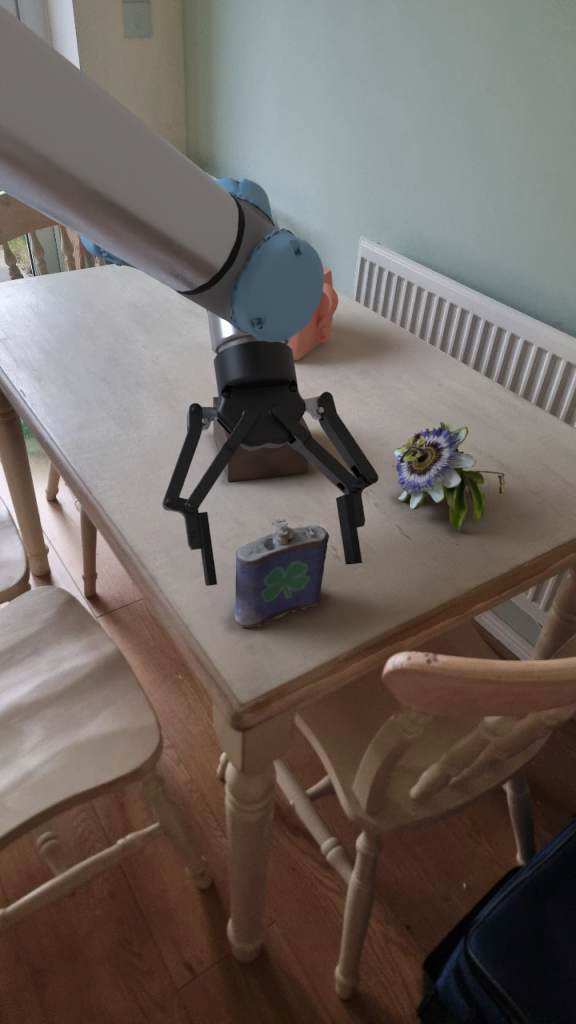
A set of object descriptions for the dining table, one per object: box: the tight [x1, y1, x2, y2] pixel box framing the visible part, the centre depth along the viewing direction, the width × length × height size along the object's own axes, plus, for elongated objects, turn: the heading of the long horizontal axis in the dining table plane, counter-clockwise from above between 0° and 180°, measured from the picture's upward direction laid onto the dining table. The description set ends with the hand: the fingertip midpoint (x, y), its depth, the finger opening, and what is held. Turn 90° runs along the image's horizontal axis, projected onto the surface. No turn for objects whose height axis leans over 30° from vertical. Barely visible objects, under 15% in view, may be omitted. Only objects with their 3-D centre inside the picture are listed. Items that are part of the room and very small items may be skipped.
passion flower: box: [393, 421, 506, 532], centre depth 81 cm, size 11×11×12 cm
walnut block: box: [212, 396, 312, 483], centre depth 86 cm, size 10×10×6 cm
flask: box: [234, 518, 330, 628], centre depth 65 cm, size 9×3×11 cm, turn 117°
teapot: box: [288, 266, 339, 361], centre depth 107 cm, size 20×19×14 cm
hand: (284, 574), depth 64 cm, fingers open, 13 cm apart
